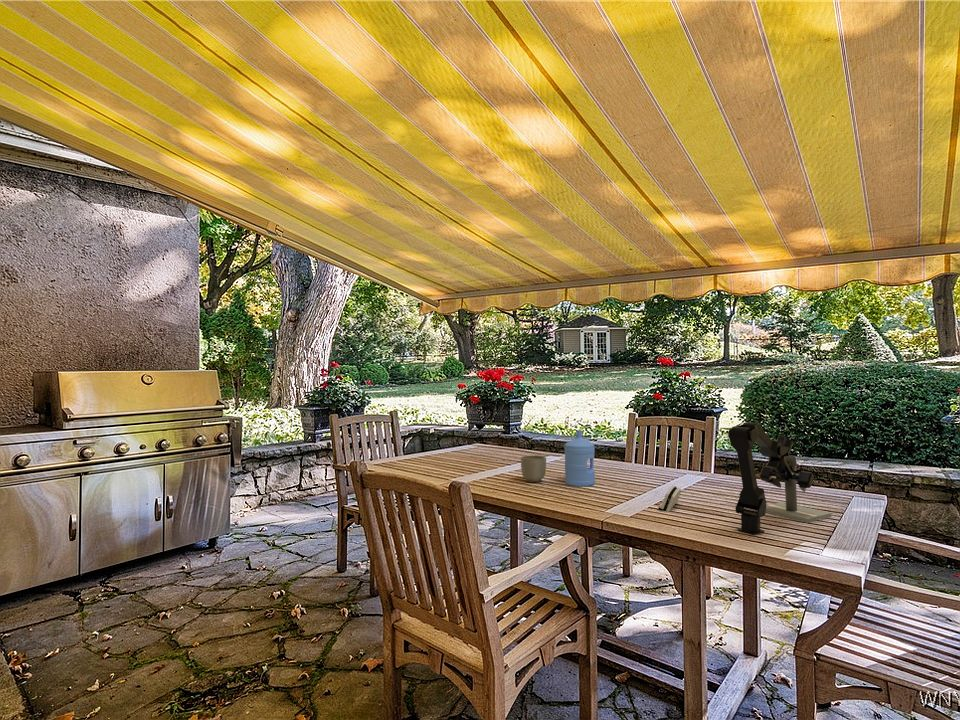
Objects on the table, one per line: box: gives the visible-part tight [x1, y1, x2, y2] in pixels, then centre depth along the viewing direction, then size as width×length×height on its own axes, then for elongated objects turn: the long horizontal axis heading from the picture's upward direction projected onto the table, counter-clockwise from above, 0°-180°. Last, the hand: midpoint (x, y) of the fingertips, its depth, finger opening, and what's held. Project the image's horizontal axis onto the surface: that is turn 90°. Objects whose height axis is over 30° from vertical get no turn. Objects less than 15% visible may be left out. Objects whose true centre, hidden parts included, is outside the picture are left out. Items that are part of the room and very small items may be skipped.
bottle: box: [784, 479, 798, 511], centre depth 212 cm, size 4×4×14 cm
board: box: [765, 501, 832, 524], centre depth 213 cm, size 16×20×2 cm
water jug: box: [564, 429, 596, 487], centre depth 274 cm, size 16×16×28 cm
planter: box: [520, 454, 547, 483], centre depth 281 cm, size 14×14×13 cm
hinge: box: [656, 485, 682, 512], centre depth 226 cm, size 17×5×10 cm, turn 148°
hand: (792, 488), depth 213 cm, fingers open, 9 cm apart
